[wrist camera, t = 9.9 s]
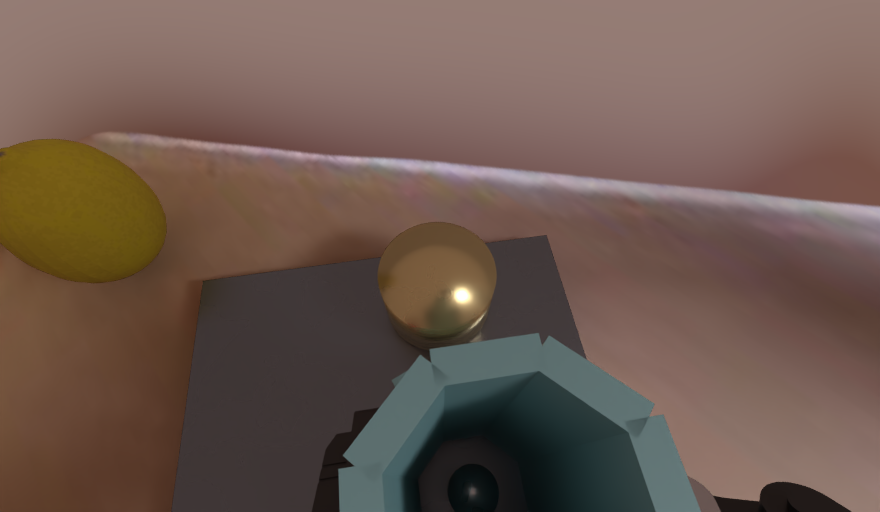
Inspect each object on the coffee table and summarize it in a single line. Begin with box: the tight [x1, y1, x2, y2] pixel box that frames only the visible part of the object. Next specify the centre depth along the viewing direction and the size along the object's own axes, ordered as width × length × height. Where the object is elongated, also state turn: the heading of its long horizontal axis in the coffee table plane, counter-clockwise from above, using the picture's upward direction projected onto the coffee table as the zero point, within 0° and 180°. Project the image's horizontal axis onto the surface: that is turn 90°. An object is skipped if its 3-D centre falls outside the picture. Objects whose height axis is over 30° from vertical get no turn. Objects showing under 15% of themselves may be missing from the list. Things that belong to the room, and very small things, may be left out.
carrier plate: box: [171, 222, 587, 512], centre depth 15 cm, size 17×19×4 cm
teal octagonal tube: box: [338, 333, 701, 512], centre depth 10 cm, size 9×9×10 cm
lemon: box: [0, 139, 167, 283], centre depth 18 cm, size 6×6×8 cm
